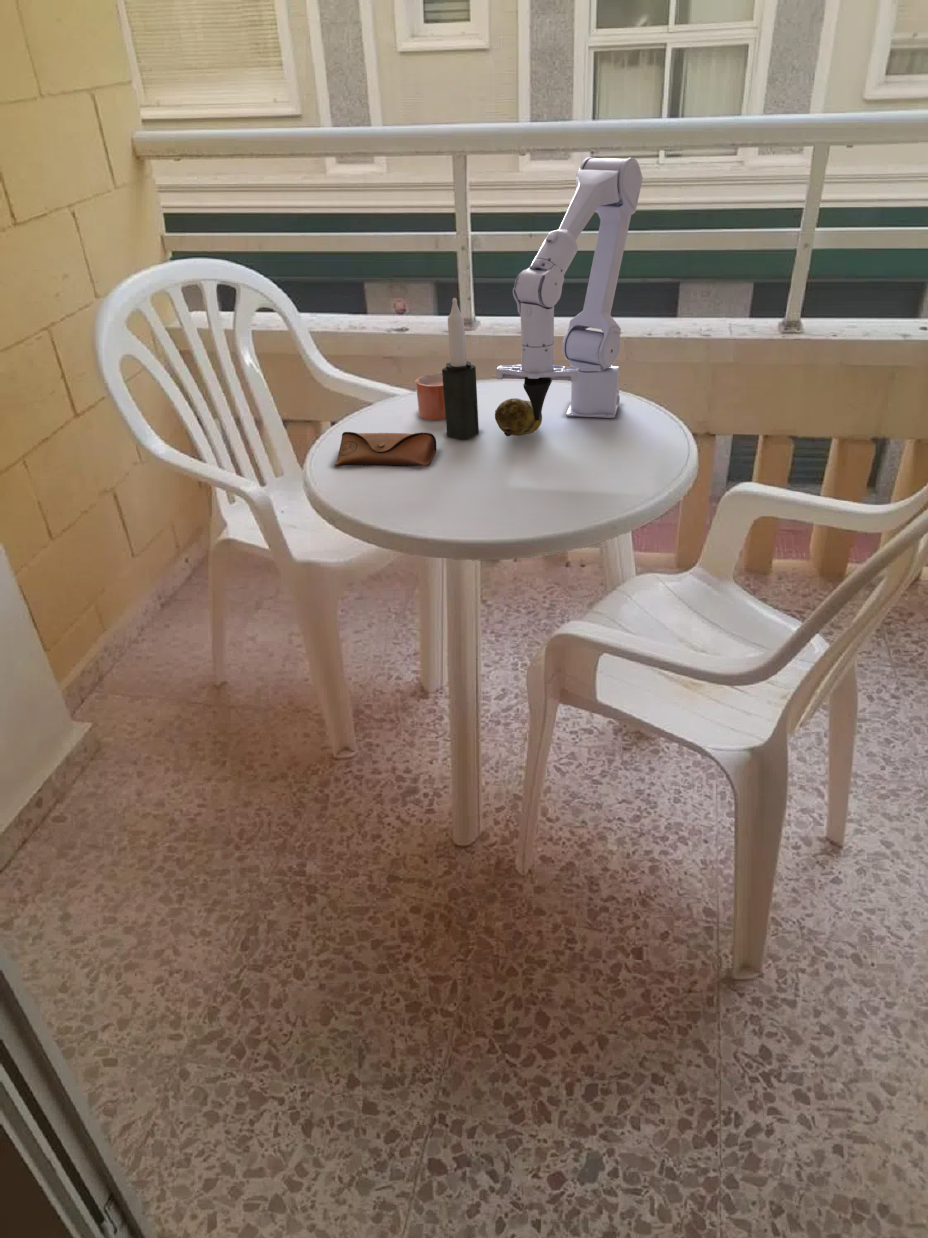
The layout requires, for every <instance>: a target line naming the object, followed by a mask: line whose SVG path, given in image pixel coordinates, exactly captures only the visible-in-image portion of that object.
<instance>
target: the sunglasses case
mask: <svg viewBox="0 0 928 1238" xmlns="http://www.w3.org/2000/svg"><path fill="white" fill-rule="evenodd" d="M436 454H437V440H436V437H435V435H434V434H433V433H431V432H422V431H421V432H415V433H403V432H400V433H399V432H354V431H343V432H342V433H341V440H340V444H339V450H338V455H337V459H336V461H335V462H334V464H333V466H335V467H339V466H361V467H363V466H365V467H366V466H369V467H371V466H372V467H398V468H399V467H401V468H402V467H420V466H425V467H427V466H429V465H430V464H431V463H432V461H433V459H434V458H435V457H436Z"/></svg>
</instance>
